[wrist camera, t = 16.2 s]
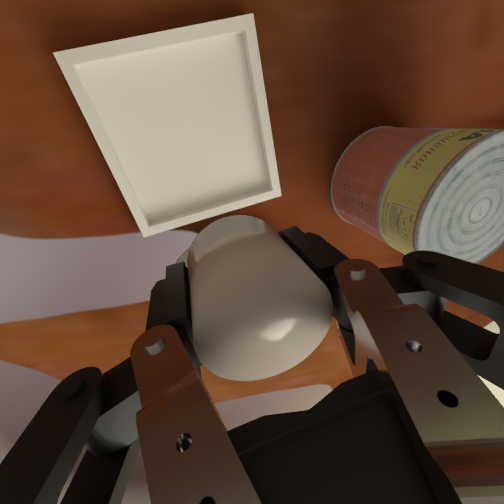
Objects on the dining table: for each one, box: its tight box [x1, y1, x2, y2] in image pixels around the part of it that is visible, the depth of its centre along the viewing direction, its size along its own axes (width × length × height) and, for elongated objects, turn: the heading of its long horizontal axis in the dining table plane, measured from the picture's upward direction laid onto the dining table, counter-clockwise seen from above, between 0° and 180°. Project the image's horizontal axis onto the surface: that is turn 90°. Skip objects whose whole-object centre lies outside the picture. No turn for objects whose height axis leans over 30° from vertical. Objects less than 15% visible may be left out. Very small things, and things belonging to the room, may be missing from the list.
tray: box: [53, 13, 281, 237], centre depth 21 cm, size 14×14×2 cm
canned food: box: [330, 126, 504, 264], centre depth 24 cm, size 11×11×12 cm
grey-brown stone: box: [187, 215, 333, 381], centre depth 9 cm, size 4×4×4 cm
